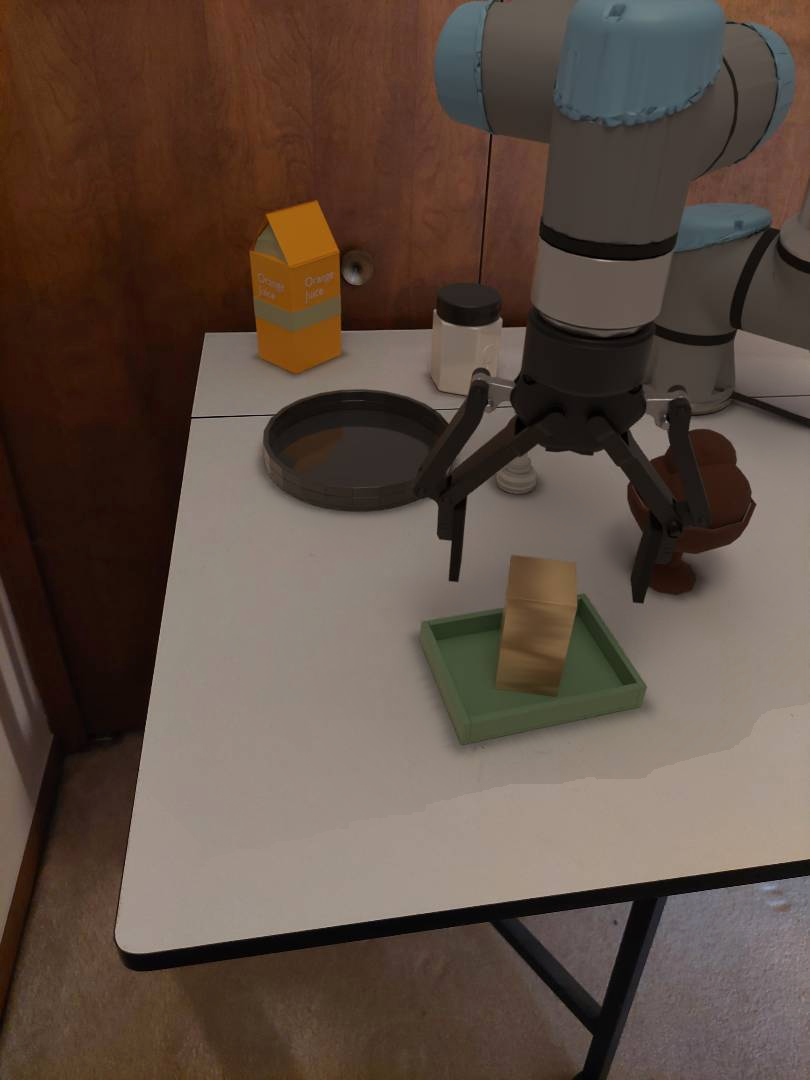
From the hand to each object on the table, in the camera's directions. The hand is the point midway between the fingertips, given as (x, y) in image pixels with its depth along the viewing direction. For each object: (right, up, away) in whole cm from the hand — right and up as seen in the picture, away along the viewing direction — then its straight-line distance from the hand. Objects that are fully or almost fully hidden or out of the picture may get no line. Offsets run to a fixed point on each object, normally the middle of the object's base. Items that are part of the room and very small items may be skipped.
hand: (544, 580), depth 60 cm
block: (-1, -8, +6) cm, 10 cm away
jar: (-3, +24, +47) cm, 53 cm away
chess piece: (+2, +9, +28) cm, 30 cm away
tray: (-1, -8, +6) cm, 10 cm away
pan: (-16, +13, +31) cm, 37 cm away
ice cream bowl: (+15, 0, +17) cm, 22 cm away
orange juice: (-25, +29, +51) cm, 64 cm away
